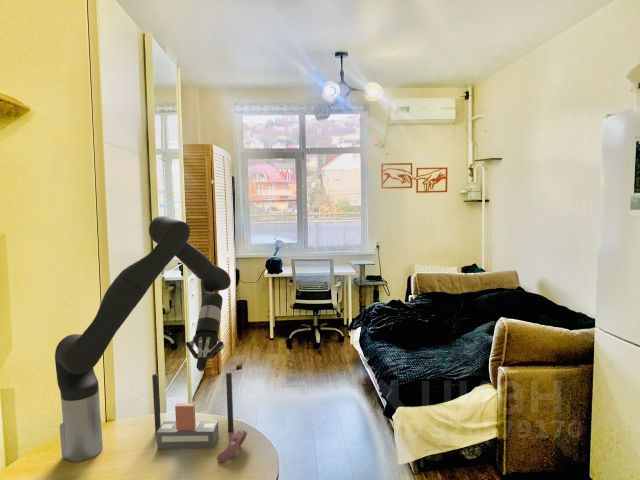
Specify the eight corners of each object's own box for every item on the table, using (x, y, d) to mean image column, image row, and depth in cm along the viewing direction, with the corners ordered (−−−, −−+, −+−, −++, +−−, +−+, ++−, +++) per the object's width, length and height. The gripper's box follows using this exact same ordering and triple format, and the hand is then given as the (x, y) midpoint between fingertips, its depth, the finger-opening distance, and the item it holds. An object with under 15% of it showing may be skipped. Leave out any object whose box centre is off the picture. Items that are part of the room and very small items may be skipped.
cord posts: (154, 433, 132) (151, 376, 130) (156, 430, 133) (153, 373, 131) (232, 432, 132) (230, 374, 130) (233, 429, 133) (232, 372, 132)
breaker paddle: (176, 430, 123) (175, 406, 123) (178, 427, 125) (176, 403, 124) (194, 429, 123) (193, 406, 123) (195, 426, 125) (194, 403, 124)
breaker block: (157, 449, 123) (156, 432, 123) (164, 437, 130) (163, 421, 129) (213, 448, 124) (213, 431, 123) (218, 436, 130) (218, 420, 129)
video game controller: (229, 470, 116) (239, 449, 115) (214, 461, 117) (224, 440, 116) (242, 449, 126) (252, 429, 125) (229, 441, 126) (238, 421, 125)
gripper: (187, 316, 148) (176, 365, 137) (226, 316, 148) (219, 365, 137) (192, 327, 153) (183, 375, 143) (230, 326, 153) (223, 374, 142)
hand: (200, 370), depth 140 cm, fingers closed
